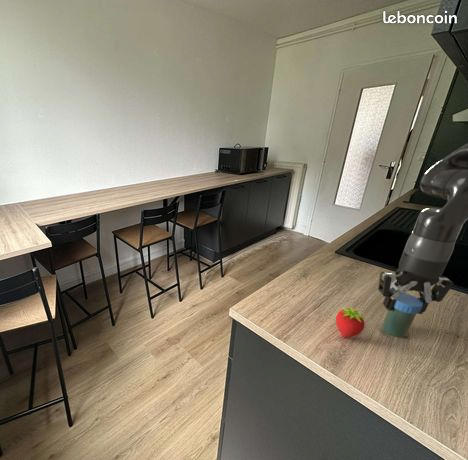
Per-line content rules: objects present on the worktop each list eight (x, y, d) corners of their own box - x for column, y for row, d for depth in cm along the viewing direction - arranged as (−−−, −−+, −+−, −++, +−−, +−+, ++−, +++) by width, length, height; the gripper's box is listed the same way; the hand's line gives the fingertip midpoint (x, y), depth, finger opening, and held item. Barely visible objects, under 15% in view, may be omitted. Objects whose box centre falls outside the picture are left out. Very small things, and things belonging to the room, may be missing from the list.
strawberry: (357, 331, 68) (367, 301, 64) (359, 351, 62) (371, 320, 58) (331, 324, 71) (339, 294, 67) (331, 342, 65) (340, 311, 61)
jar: (399, 325, 70) (411, 295, 66) (411, 339, 65) (425, 308, 61) (377, 322, 71) (388, 293, 67) (388, 336, 66) (400, 305, 62)
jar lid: (410, 300, 67) (413, 293, 66) (426, 315, 61) (429, 308, 61) (383, 297, 68) (386, 290, 67) (397, 312, 63) (400, 305, 62)
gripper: (450, 248, 61) (425, 304, 67) (381, 244, 64) (363, 298, 70) (478, 263, 54) (447, 324, 60) (399, 258, 57) (377, 316, 64)
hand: (402, 310), depth 65 cm, fingers closed on jar lid, 6 cm apart
